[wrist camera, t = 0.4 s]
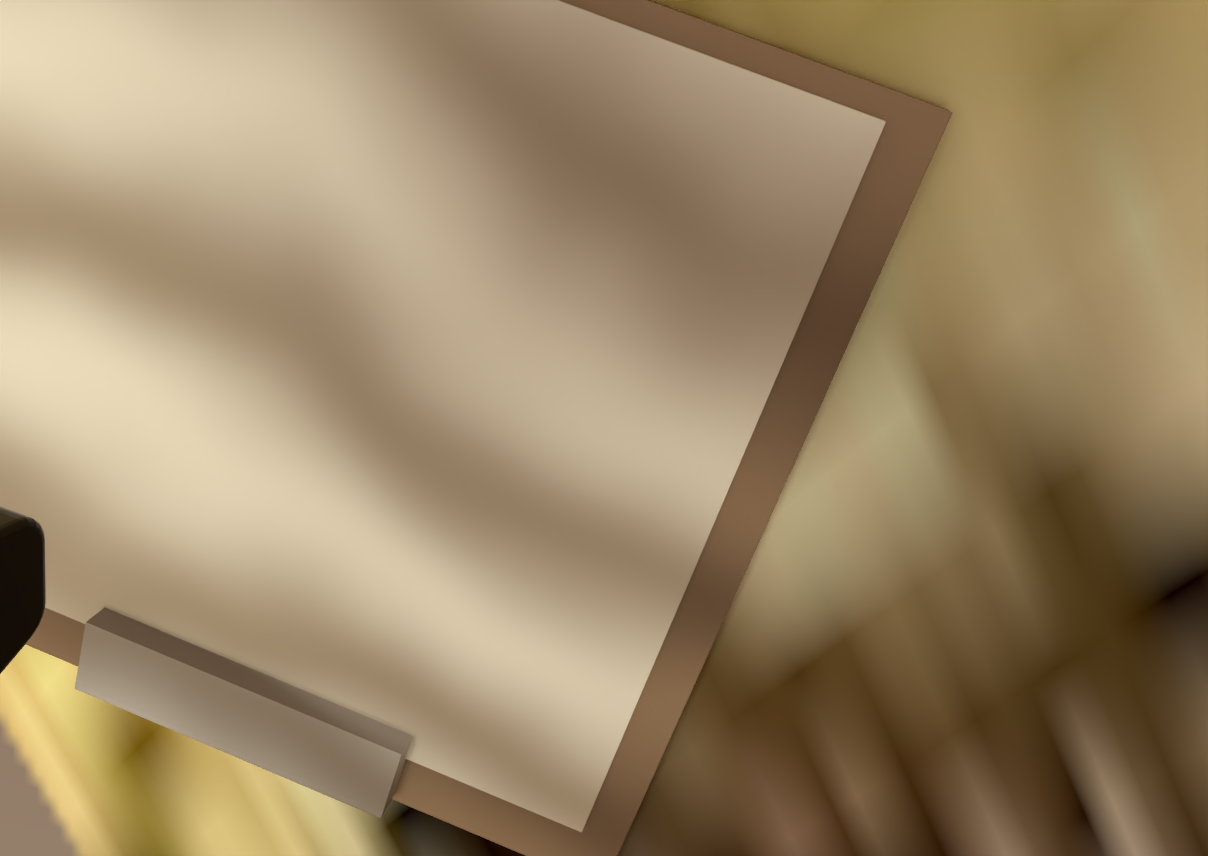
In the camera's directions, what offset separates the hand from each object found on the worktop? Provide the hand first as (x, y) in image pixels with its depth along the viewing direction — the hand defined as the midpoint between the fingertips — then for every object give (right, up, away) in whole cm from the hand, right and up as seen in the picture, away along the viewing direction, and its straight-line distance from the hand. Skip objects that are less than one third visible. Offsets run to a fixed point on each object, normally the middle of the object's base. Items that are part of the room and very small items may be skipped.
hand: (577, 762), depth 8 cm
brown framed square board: (-5, +3, +15) cm, 17 cm away
